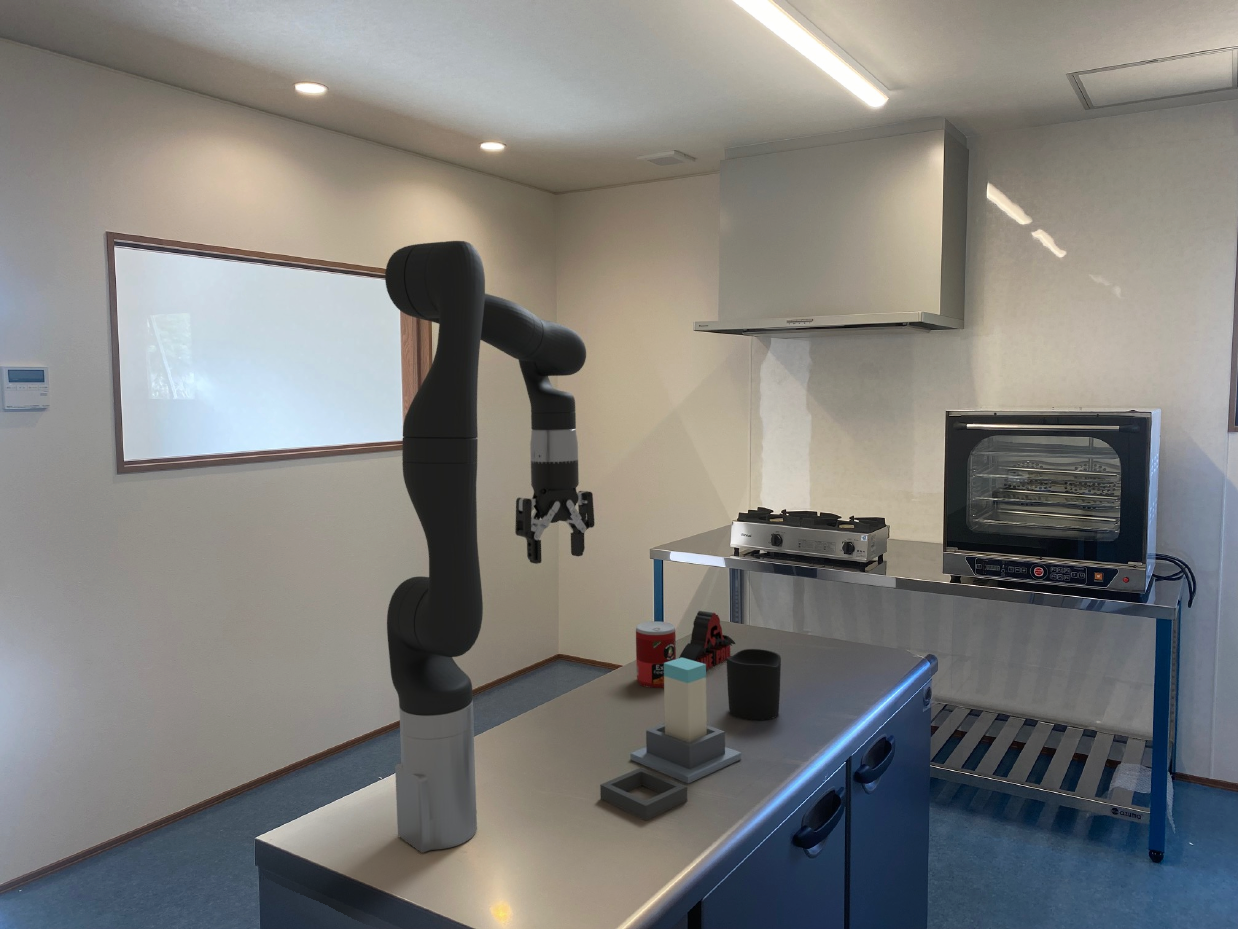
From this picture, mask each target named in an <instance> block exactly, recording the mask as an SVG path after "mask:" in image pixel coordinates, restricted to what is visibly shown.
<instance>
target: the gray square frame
mask: <svg viewBox="0 0 1238 929" xmlns="http://www.w3.org/2000/svg"><path fill="white" fill-rule="evenodd" d="M641 786H643V787H645V788H647V789H650V790H652V791H654V792H657V793H658V795H655V796H653V797H651V798H649V799H647V800H645V799H643V798H641V797H638V796H636V795H634V794H632V793H630V792H628V791H631V790H633V789H635V788H638V787H641ZM599 787H600V788H599V789H600V799H601V800H603V801H604V802H607V803H609V804H610V805H613V806H615V807H617V808H619V809H622V810H623V811H625V812H628V813H629V814H632V815H634V816H636V817H638V818H639V819H642V820H644V821H648V820H650V819H652V818H654V817H656V816H658V815H660V814H663V813H665V812H666V811H669V810H671V809H673V808H675V807H677V806H679V805H682V804H683V803H686V802H687V801H688V786H686V785H684V784H682V783H681V782H680V783H679V782H677V781H675V780H672V779H670V778H667V777H666V776H663V775H661V774H658V773H656V772H654V771H651V770H648V769H647V768H644V767H638V768H636V769H634V770H631V771H629V772H626V773H624V774H621V775H620V776H617V777H615V778H613V779H610V780H609V781H608V780H607V781H605V782H603V783H601V784H600V786H599Z"/></svg>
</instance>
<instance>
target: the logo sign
mask: <svg viewBox="0 0 1238 929" xmlns="http://www.w3.org/2000/svg"><path fill="white" fill-rule="evenodd" d="M692 623H693V627H692V631H691V638H690V641H689V642H690V643H689V642H688V643H687V644H686V645H685V647H684V648H683V650H682V651H681V653H680V655H679V657H678V659H679V658H686V659H689V660H693V661H696V662H700V663H703V664H706V671H707V670H709V669H711V668H713V667H715V666H716V665H719V663H723V662H725V661H726V657H731V646H733V645H736V642H735V640H733V639H732V638H731V637H730V636H728V635H726V634H723V629H722V625H721V619H720V617H719V615H718V614H716V613H715V612H709V611H705V610H704V611H703V610H698V611H697V614H696V616H695V618H694V620H693V622H692Z"/></svg>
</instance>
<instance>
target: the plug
mask: <svg viewBox="0 0 1238 929" xmlns="http://www.w3.org/2000/svg"><path fill="white" fill-rule="evenodd" d="M663 689H664V692H663V693H664V694H663V696H664V700H663V701H664V723H665V734H667V735H670V736H673V737H675V738H678V739H681V740H683V741H686V742H692V741H694V740H696V739H699V738H701V737H704V736H706V735H707V716H708V715H707V670H706V664H703V663H700V662H696V661H693V660H689V659H686V658H679V657H678V658H676V659H675V660H672V661H669V662H666V663H664V687H663Z"/></svg>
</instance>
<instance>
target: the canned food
mask: <svg viewBox="0 0 1238 929" xmlns="http://www.w3.org/2000/svg"><path fill="white" fill-rule="evenodd" d="M676 638H677V636H676V625H674V624H673V623H670V622H668V621H667V622H665V621H644V622H641V623H638V624H637V625H636V626H635V655H636V656H635V657H636V661H635V662H636V679H637V682H638V684H640V686H643V687H648V688H655V689H657V688H659V689H660V688H664V663H666V662H669V661H672V660H675V659H677V656H676V655H677V654H676V651H677V648H676V646H677V644H676V643H677V641H676Z"/></svg>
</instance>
